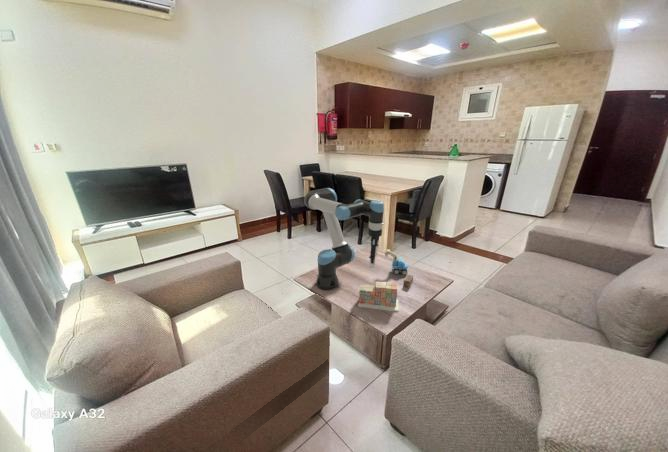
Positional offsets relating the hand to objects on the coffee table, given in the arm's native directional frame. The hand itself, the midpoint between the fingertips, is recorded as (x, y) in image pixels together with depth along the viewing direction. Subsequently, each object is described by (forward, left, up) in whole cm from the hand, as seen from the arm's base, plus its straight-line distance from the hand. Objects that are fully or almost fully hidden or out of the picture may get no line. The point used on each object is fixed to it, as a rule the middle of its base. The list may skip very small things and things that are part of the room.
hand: (373, 261), depth 151 cm
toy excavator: (+14, +33, -25) cm, 44 cm away
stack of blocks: (+4, -6, -24) cm, 25 cm away
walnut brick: (+22, +18, -25) cm, 38 cm away
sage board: (+4, -7, -24) cm, 26 cm away
